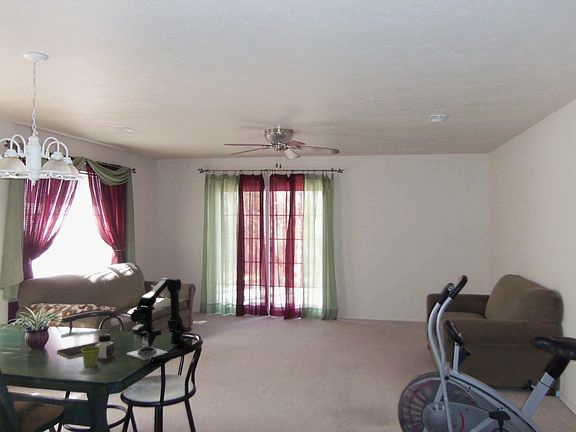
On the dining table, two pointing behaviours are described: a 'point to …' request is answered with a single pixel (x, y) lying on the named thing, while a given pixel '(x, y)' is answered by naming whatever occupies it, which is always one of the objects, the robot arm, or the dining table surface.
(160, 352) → the plate
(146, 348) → the duct coupling
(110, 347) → the medicine bottle
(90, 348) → the plant pot
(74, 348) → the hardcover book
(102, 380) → the dining table surface
